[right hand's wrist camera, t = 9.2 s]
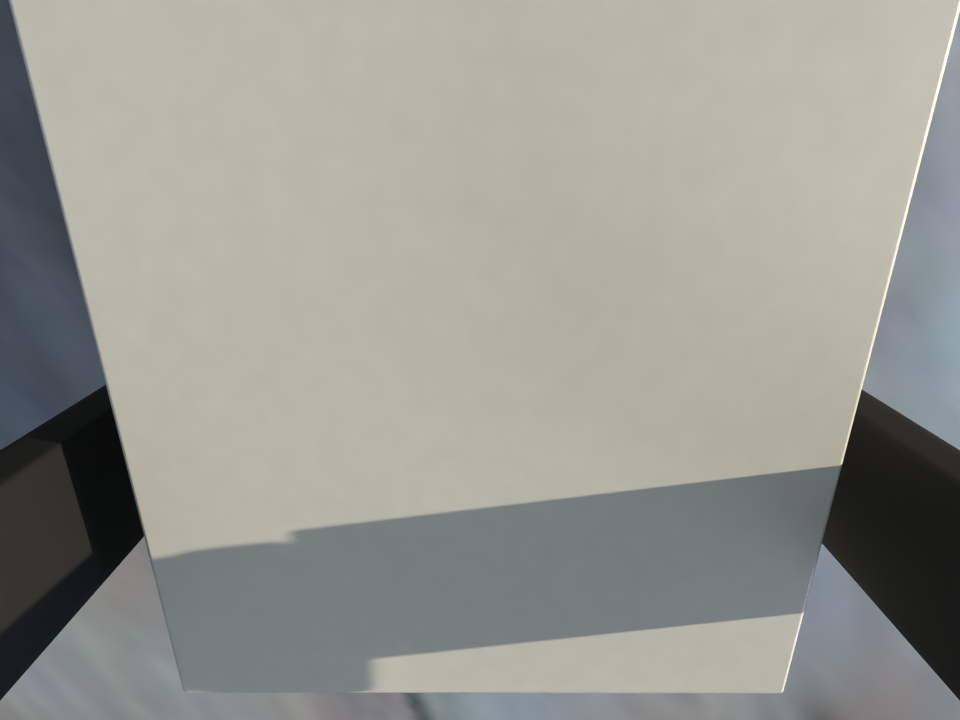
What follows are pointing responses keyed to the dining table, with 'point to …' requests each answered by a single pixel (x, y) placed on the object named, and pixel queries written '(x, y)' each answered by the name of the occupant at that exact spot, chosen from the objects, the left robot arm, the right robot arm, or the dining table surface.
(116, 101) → the cabinet
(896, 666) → the dining table surface
